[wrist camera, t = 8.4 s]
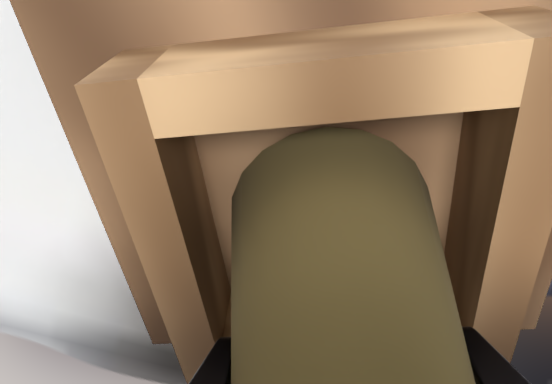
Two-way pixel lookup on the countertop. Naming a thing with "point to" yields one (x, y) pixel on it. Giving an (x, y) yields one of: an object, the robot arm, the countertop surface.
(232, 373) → the cork
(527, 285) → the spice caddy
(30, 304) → the countertop surface
